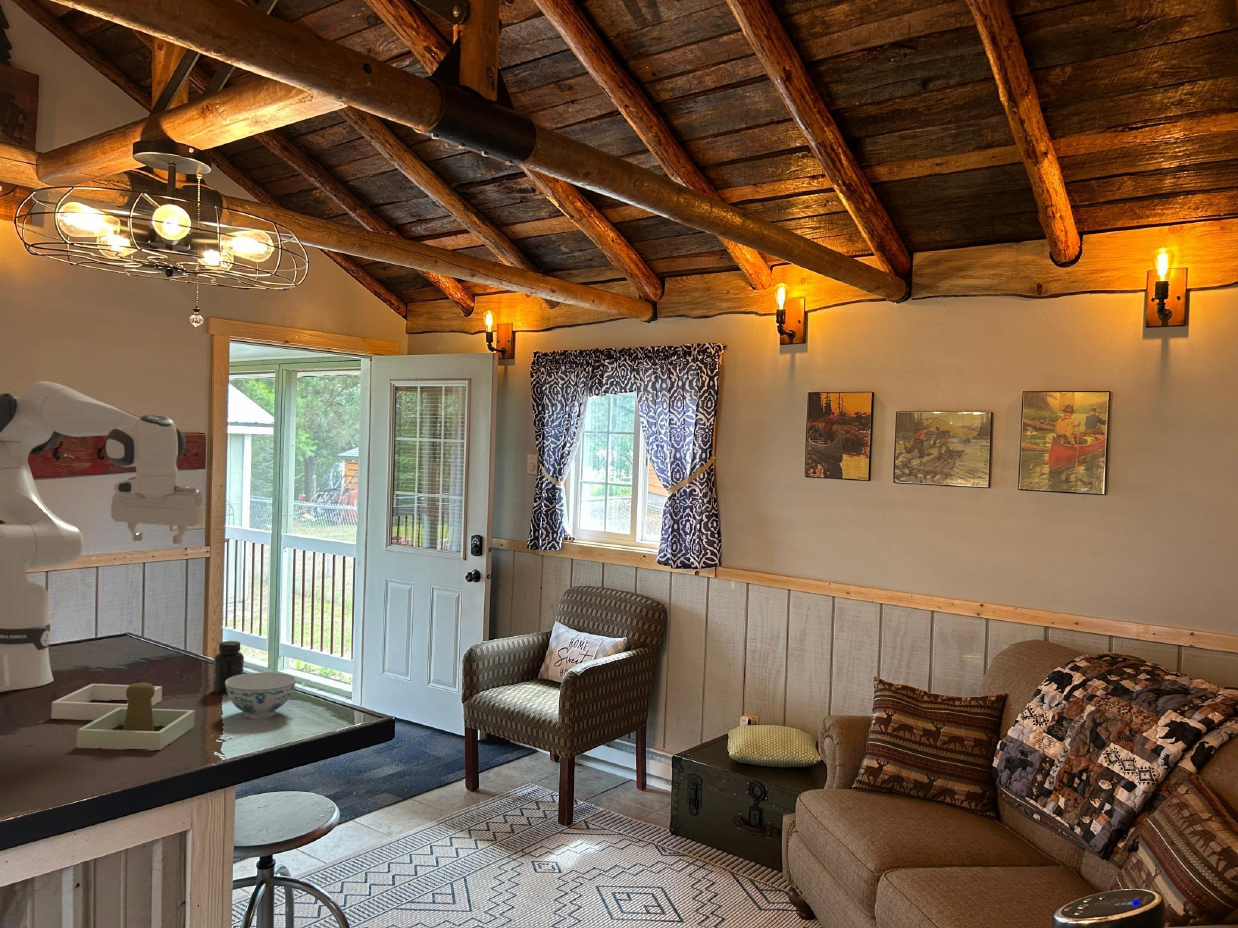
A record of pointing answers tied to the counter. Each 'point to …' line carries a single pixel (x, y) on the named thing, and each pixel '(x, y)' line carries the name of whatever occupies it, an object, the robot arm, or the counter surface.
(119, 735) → the sage bin
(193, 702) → the counter surface
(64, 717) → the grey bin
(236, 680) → the chinaware
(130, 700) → the cork
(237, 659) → the supplement bottle
